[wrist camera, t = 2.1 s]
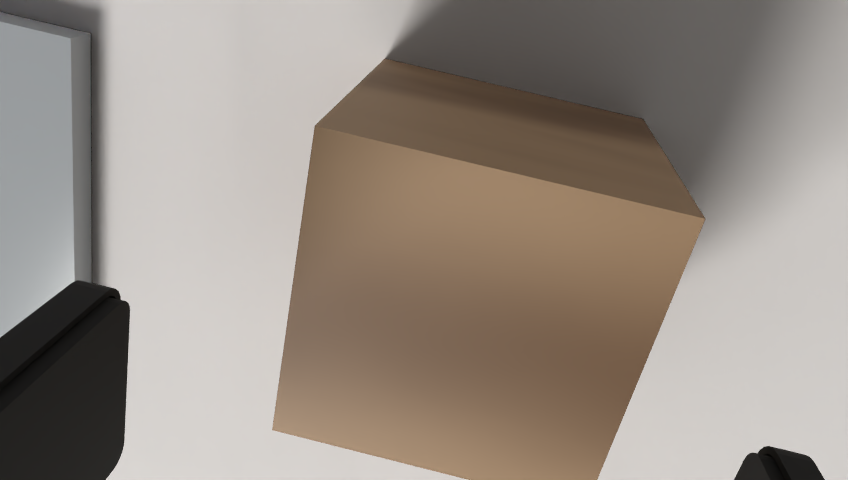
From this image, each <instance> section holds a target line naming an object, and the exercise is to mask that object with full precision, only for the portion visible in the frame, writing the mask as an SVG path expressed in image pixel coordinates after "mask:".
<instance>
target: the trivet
mask: <svg viewBox="0 0 848 480" xmlns="http://www.w3.org/2000/svg"><path fill="white" fill-rule="evenodd" d="M76 280H81V281H85V282H90V283H92V275H91V33H87V32H82V31H78V30H74V29H70V28H66V27H61V26H57V25H53V24H49V23H45V22H40V21H36V20H32V19H28V18H23V17H19V16H15V15H11V14H7V13H2V12H0V337H1V336H3V335H4V334H5V333H7V332H8V331H9V330H11V329H12V328H13V327H15V326H16V325H17V324H18V323H20V322H21V321H22V320H24V319H25V318H26V317H28V316H29V315H30V314H32V313H33V312H34V311H36V310H37V309H38V308H39V307H41V306H42V305H43V304H45V303H46V302H47V301H49V300H50V299H51V298H53V297H54V296H55V295H56V294H58V293H59V292H60V291H62V290H63V289H64V288H66V287H67V286H68V285H70V284H71V283H73V282H74V281H76Z"/></svg>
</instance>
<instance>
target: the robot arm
mask: <svg viewBox="0 0 848 480" xmlns="http://www.w3.org/2000/svg"><path fill="white" fill-rule="evenodd" d="M129 319H130V307H129V304H128V303H127V302H126V301H122V300H121V299H120V294H119V291H118V290H116V289H114V288H110V287H106V286H102V285H98V284H94V283H90V282H85V281H81V280H76V281H74V282H73V283H71V284H70V285H68V286H67V287H66V288H64V289H63V290H62V291H60V292H59V293H58V294H56V295H55V296H54V297H53V298H51V299H50V300H49V301H47V302H46V303H45V304H43V305H42V306H41V307H39V308H38V309H37V310H36V311H34V312H33V313H32V314H30V315H29V316H28V317H26V318H25V319H24V320H22V321H21V322H20V323H18V324H17V325H16V326H15V327H13V328H12V329H11V330H9V331H8V332H7V333H5V334H4V335H3V336H1V337H0V480H106V478H107V477H108V476H109V475H110V473H111V472H112V471H113V469H114V468H115V466H116V465H117V463H118V461H119V459H120V456H121V454H122V450H123V446H124V434H125V411H126V388H127V365H128V342H129ZM734 480H825V479H824V478H823V476H822V474H821V473H820V471H819V469H818V468H817V466H816V464H815V463H814V461H813V460H812V459H811V458H810V457H809V456H806V455H803V454H799V453H795V452H791V451H787V450H783V449H778V448H774V447H770V446H767V447H764V448H762V449H761V450H760V451H759V452H758V454H757V453H750V454H749V455H747V456H746V458H745V459H744V461H743V463H742V465H741V467H740V469H739V471H738V473H737V475H736V477H735V479H734Z"/></svg>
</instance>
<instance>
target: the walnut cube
mask: <svg viewBox="0 0 848 480" xmlns="http://www.w3.org/2000/svg"><path fill="white" fill-rule="evenodd" d="M704 221H705V217H704V216H703V214H702V213H701V211H700V209H699V208H698V206H697V205H696V203H695V201H694V200H693V198H692V197H691V195H690V193H689V192H688V190H687V189H686V187H685V185H684V184H683V182H682V181H681V179H680V177H679V176H678V174H677V173H676V171H675V169H674V168H673V166H672V165H671V163H670V161H669V160H668V158H667V157H666V155H665V153H664V152H663V150H662V149H661V147H660V145H659V144H658V142H657V141H656V139H655V137H654V136H653V134H652V133H651V131H650V129H649V128H648V126H647V125H646V123H645V121H644V120H643V119H640V118H636V117H632V116H628V115H623V114H619V113H615V112H610V111H606V110H602V109H598V108H593V107H589V106H585V105H581V104H576V103H572V102H568V101H564V100H559V99H555V98H551V97H546V96H542V95H538V94H534V93H529V92H525V91H521V90H517V89H512V88H508V87H504V86H500V85H495V84H491V83H487V82H483V81H478V80H474V79H470V78H465V77H461V76H457V75H453V74H448V73H444V72H440V71H436V70H431V69H427V68H423V67H419V66H414V65H410V64H406V63H401V62H397V61H393V60H389V59H384V60H383V61H382V62H381V63H380V64H379V65H378V66H377V67H376V68H375V69H374V70H373V71H371V72H370V73H369V74H368V75H367V76H366V77H365V78H364V79H363V80H362V81H361V82H360V83H359V84H358V85H357V86H356V87H355V88H354V89H353V90H352V91H351V92H350V93H349V94H347V95H346V96H345V97H344V98H343V99H342V100H341V101H340V102H339V103H338V104H337V105H336V106H335V107H334V108H333V109H332V110H331V111H330V112H329V113H328V114H327V115H326V116H325V117H323V118H322V119H321V120H320V121H319V122H318V123H317V124H316V125H315V128H314V135H313V143H312V150H311V157H310V164H309V171H308V178H307V185H306V193H305V200H304V207H303V214H302V221H301V228H300V235H299V243H298V250H297V257H296V264H295V271H294V278H293V285H292V293H291V300H290V307H289V314H288V321H287V328H286V335H285V343H284V350H283V357H282V364H281V371H280V378H279V385H278V393H277V400H276V407H275V414H274V421H273V428H272V430H274V431H278V432H282V433H286V434H290V435H294V436H298V437H302V438H306V439H310V440H314V441H318V442H322V443H326V444H330V445H334V446H338V447H342V448H345V449H349V450H353V451H357V452H361V453H365V454H369V455H373V456H377V457H381V458H385V459H389V460H393V461H397V462H401V463H405V464H409V465H413V466H417V467H421V468H425V469H429V470H432V471H436V472H440V473H444V474H448V475H452V476H456V477H460V478H464V479H468V480H597V479H598V476H599V474H600V471H601V469H602V467H603V464H604V462H605V459H606V457H607V455H608V452H609V450H610V447H611V445H612V443H613V440H614V438H615V435H616V433H617V431H618V428H619V426H620V423H621V421H622V418H623V416H624V414H625V411H626V409H627V406H628V404H629V402H630V399H631V397H632V394H633V392H634V390H635V387H636V385H637V382H638V380H639V378H640V375H641V373H642V370H643V368H644V365H645V363H646V361H647V358H648V356H649V353H650V351H651V349H652V346H653V344H654V341H655V339H656V337H657V334H658V332H659V329H660V327H661V325H662V322H663V320H664V317H665V315H666V312H667V310H668V308H669V305H670V303H671V300H672V298H673V296H674V293H675V291H676V288H677V286H678V284H679V281H680V279H681V276H682V274H683V272H684V269H685V267H686V264H687V262H688V259H689V257H690V255H691V252H692V250H693V247H694V245H695V243H696V240H697V238H698V235H699V233H700V231H701V228H702V226H703V223H704Z"/></svg>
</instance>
